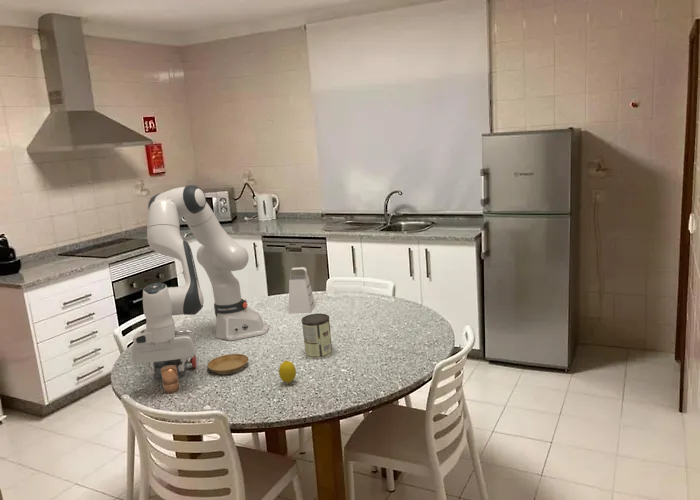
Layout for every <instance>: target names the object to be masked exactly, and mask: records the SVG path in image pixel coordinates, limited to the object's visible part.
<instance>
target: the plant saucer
mask: <svg viewBox="0 0 700 500" xmlns="http://www.w3.org/2000/svg"><path fill="white" fill-rule="evenodd" d="M249 360H250V359H249V356H247V355H245V354H243V353H229V354H224V355H223V354H222V355H220V356H216V357H215V358H213V359H211V360H209V362H207V365H206V366H207V368H208V369H209V370H210V371H212V372H214V373H215V374H218V375H230V374H233V373H237V372H239V371H241V370H243V368H244V367H245V366H246V365H248V364H247V363H248V362H249Z"/></svg>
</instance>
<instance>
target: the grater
mask: <svg viewBox="0 0 700 500" xmlns="http://www.w3.org/2000/svg"><path fill="white" fill-rule="evenodd" d="M293 270H295V271H297V270H303V271H304V274H301V275H299V274H298V275H297V274H296V275H293V274H292V271H293ZM288 272H289V281H288V315H291V314H292V315H293V314H294V315H296V314H312V312H313V310H314V309H315V308H316V302H315V298H314V295H313V291H312V285H311V280H310V277H309V275H308V269H307V268H306V267H305V266H301V267H292V268H291V269H290V270H289V271H288Z"/></svg>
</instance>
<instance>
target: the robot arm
mask: <svg viewBox="0 0 700 500" xmlns="http://www.w3.org/2000/svg"><path fill="white" fill-rule="evenodd" d="M147 206H148V207H147V209H148V213H147V219H146V220H147V223H146V239H147V243H148V246H149V247H150V249H152V250H153V251H154V252H156V253H157V254H159V255H163V256H166V257H170V258H173V259H176V260H178V261H179V262H180V263H181V267H182V270H183V277H184V280H185V284H184V285H183V286H172V287H168V286H167V284H166V283H163V282H156V283H155V282H154V283H151V284H148V285H147V286H145V287H144V288H143V290H142V308H143V315H144V317H145V321H146V322H145V327H146V328H145V329H142V330H139V331H137V332H136V333H135V335H134V336H133V338H132V343H133V345H132V347H131V360H132V363H133V364H135V365H139V364H140V365H142V364H144V367H145V368H146V369H147V370H148V373H149V376H153V375H154V374H155V368H153V367H152V365H151V363H153V362H159V361H168V360H176V359H181V362H183V363H182V365H179V367H178V368H179V371H184V363H185V361H186V358H187V359H191V358H193V357H194V356H195V354H196V355H197V347H196V344H195V340H196V335H195V332H193V331H191V330H189V329H185V330H176V327H175V326H176V325H175V320H174V318H173V316H180V315H181V316H183V315H184V316H185V315H187V316H189V315H191V316H194V315H197V314H198V313H199V312H200V311H201V310H202V309H203V308H204V296H203V291H202V290H201V287H200V282H199V278H198V274H197V273H198V272H197V269H196V264H195V260H194V256H193V252H192V248H191V246H190V244H189V242H188V241H186V240H184V239H183V237H182V235H181V231H180V226H181V225H180V219H182V218H183V219H184V221H185V222H186V224H187V226H188V228H189V230H190V232H191V233H192V234H193V237H194V238H195V240H196V241H197V242H198V243H199V244H200V246H199V247H198V249H197V252H196V260H197V262H198V264H199V265H201V267H202V268H203V269H204V271H205V273H206V275H207V277H208V279H209V281H210V283H211V288H212V294H213V299H214V304H213V310H214V315H215V317H216V322H215V323H216V326H215V334H214V336H215V338H217V339H220V340H221V339H222V340H225V341H235V340H236V341H237V340H242V339H246V338H247V339H248V338H251V337H256V336H257V337H258V336H262V335H265V334H267V333H268V332H269V330H270V329H269V328H270V327H269V324H268V323H267V322H265V321H263V319H262V316H261V314H260V313H259V312H257V311H255V310H253V309H252V308H250V307H248V302H247V299H243V298H242V293H241V287H240V286H241V285H240V282H239V280H238V278H236V276H235V275H234V273H233V272H236V271H241V270H243V269H245V268H246V266H247V265H248V262H249V253H248V251H247V249H246V248H244V247H243V246H242V245H240V244H238V242H236V241H235V240H234V239H233V238H232V237H231V236H230V235H229V234H228V232H227V231H225V229H224V228H223V226H222V225H221V224H220V222H219V220H218V218H217V216H216V215H215V212H214V211H213V209H212V208H211V207H210V205H209V203H208V202H207V197H206V194H205V192H204V191H203V189H202V188H201V187H199V186H198V185H196V184H195V185H194V184H192V185H186V186H180V187H176V188H171V189H169V190H167V191H164V192H161V193H157V194H155V195H153V196H152V197H150V199H149V201H148V205H147Z"/></svg>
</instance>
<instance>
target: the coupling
mask: <svg viewBox="0 0 700 500" xmlns="http://www.w3.org/2000/svg"><path fill="white" fill-rule="evenodd" d="M161 374H162V379H161V380H162V387H163V391H164V394H168V395H169V394H175V393H177V392H179V391H180V389H181V388H180V382H179V381H180V380H179V376H178V374H177V368H176V366H175V365H168V366H165V367H163V368H161Z"/></svg>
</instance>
